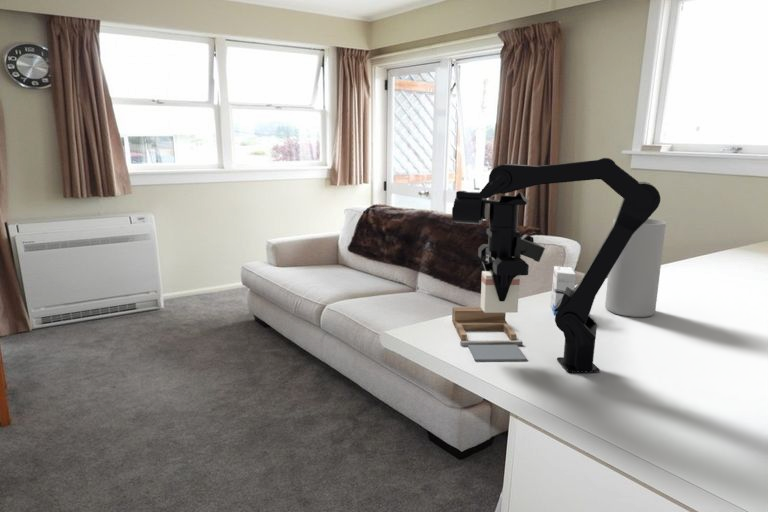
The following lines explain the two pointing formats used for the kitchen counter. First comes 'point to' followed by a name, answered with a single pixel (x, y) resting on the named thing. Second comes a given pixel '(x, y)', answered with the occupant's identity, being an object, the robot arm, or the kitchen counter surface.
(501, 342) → the cradle
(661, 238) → the cylinder vase
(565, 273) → the ink box
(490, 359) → the mat
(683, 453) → the kitchen counter surface
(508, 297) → the block
